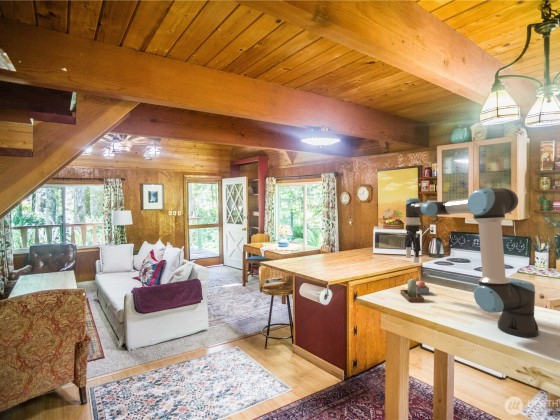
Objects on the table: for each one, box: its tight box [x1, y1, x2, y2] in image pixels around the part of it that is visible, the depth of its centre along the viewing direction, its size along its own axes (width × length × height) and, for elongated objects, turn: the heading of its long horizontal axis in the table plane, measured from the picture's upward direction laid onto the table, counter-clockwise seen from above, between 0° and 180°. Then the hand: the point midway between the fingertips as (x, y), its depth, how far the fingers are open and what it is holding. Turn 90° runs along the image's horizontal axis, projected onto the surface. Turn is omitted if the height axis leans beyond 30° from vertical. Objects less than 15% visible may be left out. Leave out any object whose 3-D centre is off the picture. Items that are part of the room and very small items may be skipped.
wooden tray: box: [400, 289, 425, 303], centre depth 197 cm, size 16×9×2 cm, turn 177°
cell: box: [407, 278, 417, 297], centre depth 196 cm, size 5×5×11 cm
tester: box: [416, 284, 430, 295], centre depth 206 cm, size 7×7×4 cm
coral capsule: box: [417, 280, 426, 288], centre depth 206 cm, size 4×4×6 cm
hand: (412, 260), depth 195 cm, fingers open, 13 cm apart
